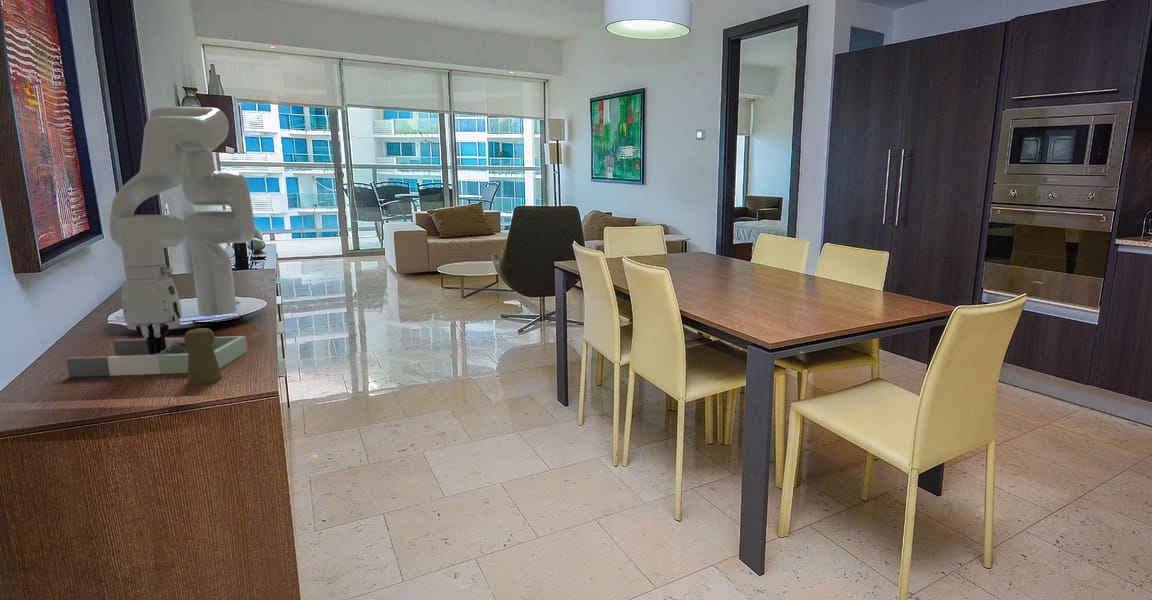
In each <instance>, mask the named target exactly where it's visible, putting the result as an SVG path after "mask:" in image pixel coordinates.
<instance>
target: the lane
mask: <svg viewBox="0 0 1152 600" xmlns="http://www.w3.org/2000/svg"><path fill="white" fill-rule="evenodd" d="M174 342H180V343H185V341H184V337H167V338H166V337H165V343H166V348H168V347H170V346H171V345H173V343H174ZM112 343H113V344H112V345H113V350H114V354H115V355H102V356H97V355H96V356H78V357H77V356H70V357H68V358H66V365H67V370H68V376H69V378H79V377H81V378H83V377H85V378H86V377H106V376H108V377H109V376H132V375H133V376H135V375H136V376H137V375H138V376H139V375H163V374H166V375H167V374H188V354H158V355H150V353H149V350H148V346H147V340H146V338H136V339H135V338H132V339H131V338H129V339H127V338H126V339H115V340H112ZM212 345H213V349H214V352H215V356H216V359H217V363H218V366H219V370H221V369H222V368H224V367H226V366H227V365H229V364H230V363H232V362H233V361H235V360H237V359H238V358H240V357H241V356H243V355H245V354H246V353H247V352H248V344H247V336H246V335H234V336H233V335H231V336H229V335H228V336H214V341H213V343H212Z"/></svg>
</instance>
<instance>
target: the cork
mask: <svg viewBox="0 0 1152 600" xmlns="http://www.w3.org/2000/svg"><path fill="white" fill-rule="evenodd" d="M214 337H215V334H214V331H213V330H212V329H210V328H206V327H205V328H204V327H201V328H200V327H199V328H193V329H189V330H187V331H186V332H185V334H184V336H183V338H184V341H185V343H186V345H188V346H189V351H188V373H187V384H188V385H189V386H206V385H210V384H214V383H218V382H219V381H220V382H221V380H222V379H223V377H222V373H221V371H220V370H221V369H219V366H218V363H217V359H216V356H215V352H214V349H213V345H212V343H213V341H214Z"/></svg>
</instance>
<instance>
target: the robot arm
mask: <svg viewBox="0 0 1152 600" xmlns="http://www.w3.org/2000/svg"><path fill="white" fill-rule="evenodd" d="M229 131H230V125H229V120H228V118H227V115H226V114H225V113H224V111H222V110H221V109H219V108H216V107H204V106H203V107H201V106H199V107H198V106H159V107H156V108H153V109H151V111H150V113H149V119H148V120H147V121H146V122H145V125H144V130H143V137H142V139H143V140H142V148H141V157H140V166H139V172H138V173H136V174H135V175H134V176H132V178H130V179H129V180H128V181H127V182H126V183H125V184H123V186H122V187H121V188H120V189H119V191H118V192H117V193H116V194H115V196H114V198H113V200H112V202H111V209H110V216H109V217H110V218H109V235H110V238H111V239H112V241H113V243H114V244H116V245H117V246H118V247H120V249H121V257H122V262H123V268H124V276H125V277H124V278H125V280H123V282H122V289H121V301H122V302H121V304H122V315H123V319H124V321H125V323H126V328H127V329H128V330H132V331H137V332H138V333H140V335H142V337H143V339H146V340H147V346H148V350H149V353H150V355H154V354H157V353H160V352H161V351H163V350H164V349H165V348H166V343H165V338H166V336H165V335H167V334H168V332H169V331H170V330H172V329H176V328H179V327H180V326H181V321H180V319H182V317H183V313H182V306H181V301H180V297H179V293H178V291H177V287H176V285H175V284H176V283H174V279H173V278H172V277H168V276H169V274H170V275H171V274H173V272H174V271H173V268H172V267H168V265H167V262H166V256H165V249H164V248H175V247H178V246H180V245H182V244H184V242H185V240H186V239H187V243H188V246H189V250H190V256H191V262H192V271H193V279H194V287H195V294H196V302H197V303H196V304H197V310H198V315H199V316H211V315H223V314H229V313H234V312H235V311H236V310H237V311H238V309H237V307H236V305H238V304H240V305H241V302H240V300H237V299H236V291H235V284H234V283H235V282H234V276H233V275H234V274H233V267H232V265H233V264H232V260H231V257H230V255H229V253H228V252H227V251H226V250H225V249H224V248H223V247H222V246H221V245H222V244H243V243H250V242H251V241H253V239H254V238H255V235H256V226H255V225H256V224H255V220H254V219H255V218H254V212H253V204H252V200H251V193H250V188H249V184H248V182H247V179H246V177H245V176H244V175H243V174H242V173H240V172H238V171H231V170H225V171H224V170H217V169H216V166H215V160H214V155H213V152H212V151H214V150H216V149H217V148H218V147H219V146H220V145H221V144H222V143H223V142H224V141H225V140H226V139H227V137H228V135H229ZM180 184H181V187H182V192H183V195H184V198H185V200H186V201H187V202H188V203H189V204H190V205H194V206H201V207H202V206H203V207H206V206H211V207H212V206H214V207H215V206H217V207H218V206H221V207H222V206H228V207H230V209H202V210H201V209H200V210H193V211H190V212H189V213H187V214H186V215H185V216H184V218H183V220H182V219H181V218H180V217H178V216H176V215H173V214H172V215H171V214H135V211H136V209H137V208H138V207H139V206H140V205H141V204H142V203H143V202H144V201H146V200H148V199H150V198H151V197H153V196H157V195H158V194H161V193H163V192H167V191H168V190H171V189H174V188H176V187H178V186H179V185H180Z"/></svg>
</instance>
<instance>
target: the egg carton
mask: <svg viewBox="0 0 1152 600" xmlns="http://www.w3.org/2000/svg"><path fill="white" fill-rule="evenodd" d="M188 351H189V346H188V345H186V343H180V342H174V343H173V345H171V346H170V347H168V348H165V349H164V350H163V351H161V352H160V353H157V354H154V355H158V354H188Z"/></svg>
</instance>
